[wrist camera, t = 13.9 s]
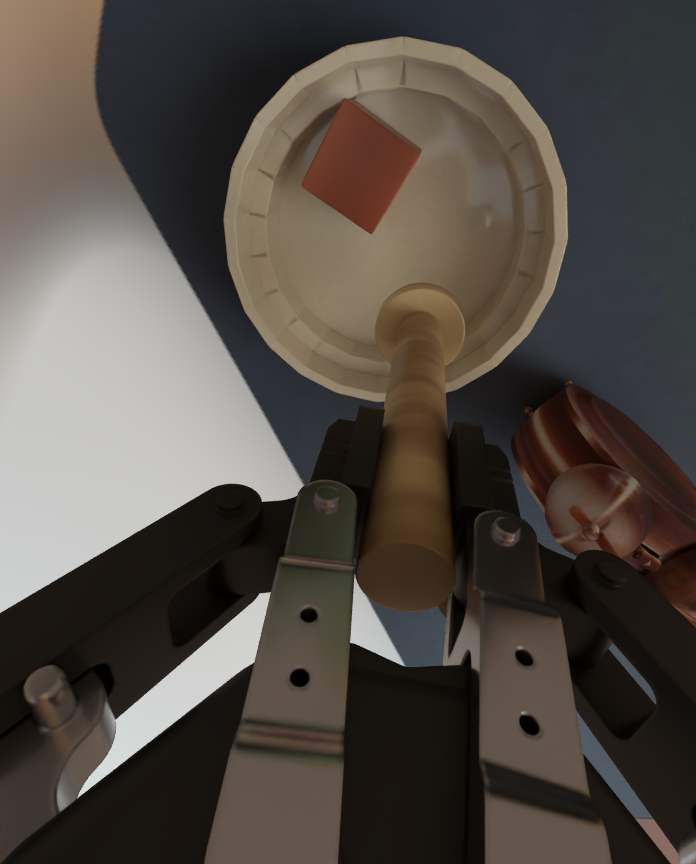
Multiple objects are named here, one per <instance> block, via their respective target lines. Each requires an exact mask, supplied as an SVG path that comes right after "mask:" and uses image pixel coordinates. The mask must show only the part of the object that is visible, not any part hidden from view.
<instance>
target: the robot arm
mask: <svg viewBox="0 0 696 864" xmlns="http://www.w3.org/2000/svg"><path fill="white" fill-rule="evenodd" d="M384 413H385V409H382V408H376V407H370V406H364V405H360V407H359V411H358V415H357V419H356V422H355V421H349V420H343V419H338V420H337V421H336V422H335V423H333V424H332V425H331V426H330V427H328V430H327V433H326V436H325V440H324V442H323V445H322V449H321V451H320V454H319V457H318V460H317V463H316V466H315V469H314V472H313V475H312V478H311V480H310V483H308V484H306V485H305V486H303V487H302V488H301V489H300V491H299V492H298V495H297V496H296V497H294V498H291V499H287V500H282V501H269V502H262V500H261V497H260V495H259V494H258V493H257V492H256V491H255V490H253V489H252V488H250V487H247V486H244V485H240V484H224V485H220V486H216V487H214V488H212V489H210V490H208V491H206V492H205V493H203V494H201V495H200V496H198V497H196V498H194V499H193V500H191V501H189V502H188V503H186V504H184V505H183V506H181V507H179V508H177V509H176V510H174V511H172V512H171V513H169V514H167V515H166V516H164V517H162V518H161V519H159V520H157V521H155V522H154V523H152V524H150V525H149V526H147V527H145V528H144V529H142V530H141V531H138V532H137V533H135V534H133V535H132V536H130V537H128V538H127V539H125V540H123V541H122V542H120V543H118V544H116V545H115V546H113V547H111V548H110V549H108V550H106V551H105V552H103V553H101V554H100V555H98V556H96V557H94V558H93V559H91V560H89V561H88V562H86V563H84V564H83V565H81V566H79V567H78V568H76V569H74V570H72V571H71V572H69V573H67V574H66V575H64V576H62V577H60V578H59V579H57V580H55V581H54V582H52V583H50V584H49V585H47V586H45V587H44V588H42V589H40V590H38V591H37V592H36V593H33V594H32V595H30V596H28V597H27V598H25V599H23V600H22V601H20V602H18V603H16V604H15V605H13V606H11V607H10V608H8V609H6V610H5V611H3V612H1V613H0V864H671V863H670V862H669V861H668V860H667V858H666V857H665V856H664V855H663V853H662V852H661V851H660V850H659V849H658V847H657V846H656V844H655V843H654V842H653V841H652V839H651V838H650V837H649V836H648V834H647V833H646V832H645V831H644V829H643V828H642V827H641V826H640V824H639V823H638V822H637V821H636V819H635V818H634V817H633V816H632V814H631V813H630V812H629V811H628V809H627V808H626V807H625V806H624V804H623V803H622V802H621V801H620V799H619V798H618V797H617V796H616V794H615V793H614V792H613V790H612V789H611V788H610V787H609V785H608V784H607V783H606V782H605V780H604V779H603V778H602V777H601V775H600V774H599V773H598V772H597V770H596V769H595V768H594V767H593V765H592V764H591V763H590V762H589V760H588V759H587V758H586V757H585V755H584V754H583V751H582V745H581V739H580V732H579V726H578V720H577V713H576V711H577V712H578V713H579V715H580V716H581V718H582V719H583V720H584V722H585V723H586V725H587V726H588V727H589V729H590V730H591V732H592V733H593V734H594V736H595V737H596V739H597V740H598V741H599V743H600V744H601V746H602V747H603V748H604V750H605V751H606V753H607V754H608V755H609V757H610V758H611V760H612V761H613V762H614V764H615V765H616V767H617V768H618V769H619V771H620V772H621V774H622V775H623V777H624V778H625V779H626V781H627V782H628V784H629V785H630V786H631V788H632V789H633V791H634V792H635V793H636V795H637V796H638V798H639V799H640V800H641V802H642V803H643V805H644V806H645V807H646V809H647V810H648V812H649V813H650V814H651V816H652V817H653V819H654V820H655V821H656V823H657V824H658V826H659V827H660V828H661V830H662V831H663V833H664V834H665V836H666V837H667V838H668V840H669V841H670V843H671V844H672V845H673V847H674V848H675V849H676V851H677V852H678V861H679V864H696V627H695V626H694V625H693V624H692V623H691V622H690V621H689V620H688V619H687V618H686V617H685V616H683V615H682V614H681V613H680V612H679V611H678V610H677V609H676V608H675V607H674V606H673V605H672V604H671V603H670V602H669V601H668V600H667V599H666V598H665V597H664V596H663V595H662V594H661V593H660V592H659V591H657V590H656V589H655V588H654V587H653V586H652V585H651V584H650V583H649V582H648V581H647V580H646V579H645V578H644V577H643V576H642V575H641V574H640V573H639V572H638V571H637V570H636V569H635V568H634V567H632V566H631V565H630V564H629V563H627V562H626V561H625V560H623V559H621V558H620V557H618V556H616V555H614V554H611V553H608V552H605V551H601V550H586V551H583V552H581V553H580V554H579V555H578V556H577V557H576V559H575V560H573V559H571V558H568V557H566V556H564V555H561V554H559V553H556V552H554V551H552V550H550V549H548V548H546V547H544V546H542V545H541V544H539V543H538V541H537V536H536V533H535V531H534V530H533V528H532V527H531V526H530V525H529V524H528V523H527V522H526V521H525V520H523V519H522V518H521V517H520V512H519V508H518V503H517V498H516V494H515V489H514V485H513V483H512V481H513V480H512V476H511V473H510V466H509V462H508V458H507V457H506V455H505V454H504V453H503V452H502V450H501V449H500V448H499V447H498V446H497V445H491V444H485V442H484V436H483V429H482V426H481V425H477V424H471V423H465V422H459V421H455V422H454V423H453V426H452V430H451V433H450V437H449V441H448V443H449V461H450V479H451V498H452V516H453V534H454V552H455V570H456V583H455V587H454V590H453V592H452V593H451V595H450V596H449V598H448V605H447V618H446V632H445V645H444V658H443V666H427V667H405V666H402V665H400V664H397V663H395V662H393V661H390V660H389V659H386V658H384V657H382V656H380V655H378V654H376V653H374V652H371V651H369V650H367V649H365V648H363V647H360V646H358V645H356V644H353V643H350V635H351V620H352V604H353V588H354V572H355V565H353V558H357V557H358V552H359V546H360V540H361V534H362V529H363V524H364V520H365V518H366V516H367V514H368V509H369V503H370V497H371V491H372V485H373V479H374V473H375V467H376V461H377V455H378V449H379V443H380V437H381V431H382V425H383V419H384ZM267 592H271V595H270V599H269V603H268V607H267V612H266V616H265V620H264V624H263V628H262V633H261V637H260V641H259V646H258V650H257V654H256V658H255V662H254V663H253V664H251V665H249V666H248V667H246V668H244V669H243V670H242V671H240V672H239V673H238V674H236V675H235V676H234V677H232V678H231V679H230V680H228V681H227V682H226V683H225V684H223V685H222V686H221V687H220V688H218V689H217V690H216V691H215V692H213V693H212V694H210V695H209V696H208V697H207V698H205V699H204V700H203V701H202V702H200V703H199V704H198V705H196V706H195V707H194V708H193V709H191V710H190V711H189V712H187V713H186V714H185V715H184V716H182V717H181V718H180V719H178V720H177V721H176V722H175V723H173V724H172V725H171V726H170V727H168V728H167V729H166V730H164V731H163V732H162V733H161V734H159V735H158V736H157V737H155V738H154V739H153V740H152V741H151V742H149V743H148V744H147V745H145V746H144V747H143V748H141V749H140V750H139V751H137V752H136V753H135V754H134V755H132V756H131V757H130V758H129V759H127V760H126V761H125V762H123V764H121V765H120V766H118V767H117V768H116V769H114V770H113V771H112V772H111V773H110V774H108V775H107V776H106V777H104V778H103V779H102V780H100V781H99V782H98V783H96V784H95V785H94V786H93V787H91V788H90V789H89V790H88V791H86V792H85V793H84V794H82V795H81V796H80V797H79V798H77V797H78V794H79V792H80V790H81V788H82V787H83V785H84V783H85V782H86V780H87V779H88V777H89V776H90V775H91V774H92V773H93V771H94V770H95V769H96V768H97V767H98V766H99V765H100V763H101V762H102V761H103V760H104V758H105V757H106V756H107V754H108V752H109V750H110V749H111V747H112V744H113V741H114V738H115V733H116V722H115V720H116V719H117V718H118V717H119V716H120V715H121V714H123V713H124V712H125V711H126V710H127V709H128V708H130V707H131V706H132V705H133V704H134V703H135V702H137V701H138V700H139V699H140V698H141V697H142V696H144V694H146V693H147V692H148V691H149V690H151V689H152V688H153V687H154V686H155V685H156V684H157V683H159V682H160V681H161V680H162V679H163V678H165V677H166V676H167V675H168V674H169V673H170V672H172V671H173V670H174V669H175V668H176V667H177V666H179V665H180V664H181V663H182V662H183V661H184V660H185V659H187V658H188V657H189V656H190V655H191V654H193V653H194V652H195V651H196V650H197V649H198V648H200V647H201V646H202V645H203V644H204V643H205V642H207V641H208V640H209V639H210V638H211V637H212V636H214V635H215V634H216V633H217V632H218V631H219V630H220V629H222V628H223V627H224V626H225V625H226V624H227V623H229V622H230V621H231V620H232V619H233V618H234V617H236V616H237V615H238V614H239V613H240V612H241V611H243V610H244V609H245V608H246V607H247V606H248V605H249V604H251V603H252V602H253V601H254V600H255V599H256V598H257V596H258V595H259V593H267ZM612 643H614V644H615V645H616V647H617V648H618V649H619V650H620V651H621V652H622V654H623V655H624V656H625V657H626V658H627V659H628V660H629V662H630V663H631V664H632V665H633V666H634V667H635V669H636V670H637V671H638V672H639V673H640V674H641V676H642V677H643V678H644V679H645V680H646V681H647V683H648V684H649V685H650V687H651V688H652V690H653V692H654V695H655V698H656V705H655V703H654V702H653V701H652V700H651V699H650V698H649V696H648V695H647V694H646V693H645V692H644V690H643V689H642V688H641V687H640V686H639V685H638V683H637V682H636V681H635V680H634V679H633V677H632V676H631V675H630V674H629V673H628V672H627V670H626V669H625V668H624V667H623V666H622V664H621V663H620V662H619V661H618V660H617V659H616V657H615V656H614V655H613V654H612V653H611V651H610V650H609V649H608V648H609V647H610V646H611V644H612Z"/></svg>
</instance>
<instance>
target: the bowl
mask: <svg viewBox="0 0 696 864" xmlns="http://www.w3.org/2000/svg"><path fill="white" fill-rule="evenodd" d="M344 98H346V99H350V100H354V101H357V102H359V103H360V104H362V105H363V106H364V107H366V108H367V109H368V110H370V111H371V112H372V113H374V114H375V115H376V116H378V117H379V118H380V119H382V120H383V121H384V122H386V123H387V124H388V125H390V126H391V127H392V128H394V129H395V130H396V131H398V132H399V133H401V134H402V135H403V136H405V137H406V138H407V139H409V140H410V141H411V142H413V143H414V144H415V145H417V146H418V147H419V148H421V150H422V152H421V154H420V156H419V158H418V160H417V161H416V163H415V165H414V166H413V168H412V170H411V171H410V173H409V174H408V176H407V178H406V179H405V181H404V183H403V184H402V186H401V188H400V189H399V191H398V193H397V194H396V196H395V198H394V199H393V201H392V203H391V204H390V206H389V207H388V209H387V211H386V212H385V214H384V216H383V217H382V219H381V221H380V222H379V224H378V226H377V227H376V229H375V231H374V232H373V234H369V233H368V232H366V231H365V230H364V229H362V228H361V227H359V226H358V225H356V224H355V223H353V222H352V221H351V220H349V219H348V218H346V217H345V216H343V215H342V214H340V213H339V212H338V211H336V210H335V209H333V208H332V207H330V206H329V205H327V204H326V203H325V202H323V201H322V200H320V199H319V198H317V197H316V196H314V195H313V194H312V193H310V192H309V191H307V190H306V189H304V188H303V187H302V186H301V184H302V182H303V180H304V178H305V176H306V174H307V172H308V170H309V167H310V165H311V163H312V161H313V159H314V157H315V155H316V153H317V151H318V149H319V147H320V145H321V143H322V141H323V139H324V137H325V135H326V133H327V131H328V129H329V127H330V125H331V122H332V120H333V118H334V116H335V114H336V112H337V110H338V108H339V106H340V104H341V102H342V100H343V99H344ZM232 166H233V167H232V168H231V174H230V180H229V186H228V192H227V198H226V204H225V211H224V229H225V239H226V249H227V259H228V266H229V270H230V273H231V276H232V278H233V281H234V284H235V287H236V289H237V292H238V295H239V297H240V300H241V303H242V306H243V308H244V311H245V312H246V314H247V315H248V317H249V318H250V320H251V321H252V323H253V324H254V326H255V327H256V328H257V330H258V331H259V333H260V334H261V336H262V337H263V339H264V340H265V342H266V343H267V344H268V346H269V347H270V348H271V349H272V350H273V351H275V352H276V353H277V354H278V355H279V356H280V357H281V358H283V359H284V360H285V361H286V362H287V363H288V364H289V365H290V366H292V367H293V368H294V369H295V370H296V371H297V372H298V373H300V374H301V375H303V376H305V377H307V378H309V379H311V380H313V381H314V382H316V383H318V384H320V385H322V386H324V387H326V388H328V389H330V390H332V391H334V392H337V393H340V394H344V395H348V396H353V397H357V398H361V399H366V400H370V401H374V402H385V397H386V391H387V385H388V380H389V374H390V368H391V364H390V363H389V362H388V361H387V360H386V359H385V358H384V357H383V356H382V354H381V353H380V351H379V349H378V346H377V344H376V339H375V324H376V320H377V317H378V313H379V310H380V308H381V306H382V305H383V303H384V302H385V300H386V299H387V298H388V297H389V296H390V295H391V294H392V293H393V292H395V291H396V290H397V289H399V288H401V287H403V286H406V285H409V284H413V283H430V284H434V285H437V286H440V287H442V288H444V289H445V290H447V291H448V292H450V293H451V294H452V295H453V296H454V297H455V298H456V300H457V301H458V303H459V304H460V306H461V309H462V311H463V315H464V320H465V327H466V330H465V339H464V342H463V345H462V347H461V350H460V351H459V353H458V354H457V356H456V357H455V358H454V359H453V360H452V361H451V362H450V363H449V364H447V365H446V366H445V367H444V371H445V389H446V393H447V392H450V391H454V390H457V389H459V388H461V387H463V386H464V385H466V384H468V383H469V382H471V381H473V380H475V379H476V378H478V377H480V376H481V375H483V374H485V373H487V372H488V371H490V370H492V369H494V368H495V367H496V366H497V365H498V364H499V363H500V362H501V361H502V360H503V359H504V358H505V357H506V356H507V355H508V354H509V353H510V352H511V351H512V350H513V349H514V348H516V347H517V346H518V345H519V344H520V343H521V342H522V341H523V340H524V339H525V338H526V337H527V336H528V334H529V333H530V332H531V330H532V328H533V326H534V325H535V323H536V321H537V320H538V318H539V316H540V314H541V313H542V311H543V309H544V308H545V306H546V304H547V302H548V301H549V299H550V297H551V296H552V294H553V292H554V290H555V286H556V282H557V278H558V275H559V271H560V267H561V264H562V260H563V256H564V252H565V249H566V245H567V239H568V221H567V185H566V180H565V177H564V174H563V171H562V168H561V165H560V162H559V159H558V156H557V153H556V150H555V147H554V144H553V141H552V138H551V135H550V132H549V130H548V129H547V126H546V124H545V123H544V122H543V120H542V119H541V118H540V116H539V115H538V114H537V113H536V111H535V110H534V109H533V107H532V106H531V105H530V103H529V102H528V101H527V99H526V98H525V97H524V95H523V94H522V93H521V91H520V90H519V89H518V87H517V86H516V85H515V83H514V82H512V80H511V79H509V78H508V77H506V76H505V75H503V74H501V73H500V72H498V71H497V70H495V69H494V68H492V67H491V66H489V65H487V64H486V63H484V62H483V61H481V60H480V59H478V58H477V57H475V56H473V55H472V54H470V53H469V52H467V51H466V50H464V49H461V48H459V47H454V46H449V45H445V44H440V43H435V42H430V41H425V40H421V39H416V38H411V37H406V36H405V37H402V36H400V37H393V38H387V39H381V40H375V41H369V42H363V43H356V44H350V45H346V46H343V47H341V48H339V49H337V50H336V51H334V52H332V53H330V54H328V55H327V56H325V57H323V58H321V59H320V60H318V61H316V62H314V63H312V64H311V65H309V66H307V67H305V68H303V69H302V70H300V71H298V72H296V73H295V74H294V75H292V76H291V77H290V78H289V79H288V81H287V82H286V83H285V84H284V85H283V86H282V87H281V88H280V89H279V91H278V92H277V93H276V94H275V95H274V96H273V97H272V98H271V99H270V100H269V102H268V103H267V104H266V105H265V106H264V107H263V108H262V109H261V110H260V111H259V113H258V114H257V115H256V117H255V118H254V120H253V122H252V124H251V126H250V128H249V131H248V133H247V135H246V137H245V139H244V141H243V143H242V145H241V148H240V150H239V152H238V154H237V156H236V158H235V160H234V162H233V165H232Z"/></svg>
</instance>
